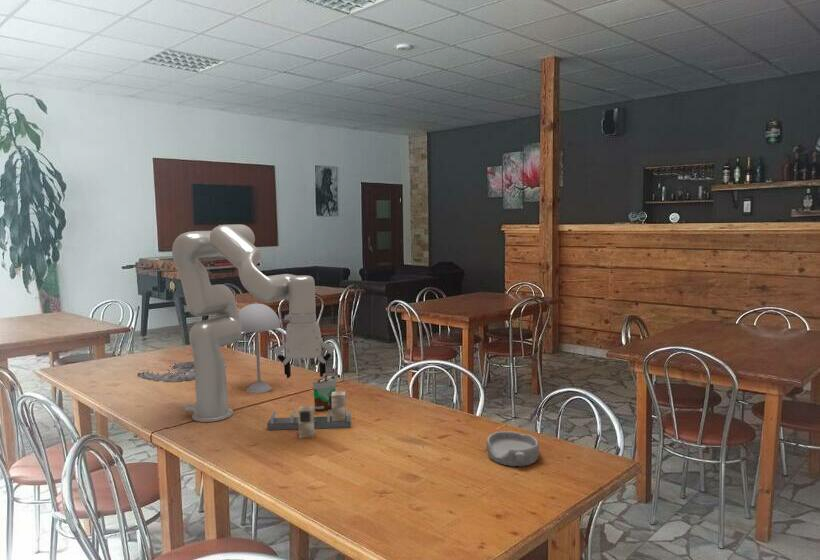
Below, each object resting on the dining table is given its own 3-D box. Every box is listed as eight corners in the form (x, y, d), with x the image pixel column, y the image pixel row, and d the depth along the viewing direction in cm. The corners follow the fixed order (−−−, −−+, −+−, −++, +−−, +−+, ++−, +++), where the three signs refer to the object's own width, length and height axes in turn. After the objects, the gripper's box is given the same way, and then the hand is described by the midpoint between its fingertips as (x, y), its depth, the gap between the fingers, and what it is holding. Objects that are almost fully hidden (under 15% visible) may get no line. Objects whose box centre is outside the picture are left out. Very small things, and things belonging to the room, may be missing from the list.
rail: (267, 430, 181) (266, 417, 180) (270, 424, 186) (270, 411, 185) (350, 427, 182) (349, 414, 181) (351, 421, 187) (350, 409, 186)
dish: (528, 473, 148) (528, 453, 148) (477, 461, 156) (477, 443, 155) (547, 453, 160) (547, 435, 160) (499, 443, 168) (499, 426, 167)
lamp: (243, 383, 232) (240, 299, 229) (287, 383, 232) (284, 298, 228) (229, 396, 215) (224, 305, 212) (276, 396, 215) (272, 305, 211)
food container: (331, 413, 195) (330, 383, 194) (313, 412, 196) (312, 382, 195) (342, 401, 207) (342, 373, 206) (326, 401, 208) (325, 373, 207)
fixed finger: (329, 421, 182) (328, 395, 181) (330, 416, 186) (329, 391, 185) (345, 420, 182) (344, 395, 181) (346, 416, 186) (345, 391, 185)
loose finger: (298, 438, 173) (297, 411, 172) (300, 432, 178) (300, 406, 177) (312, 438, 173) (311, 411, 173) (314, 432, 178) (313, 406, 177)
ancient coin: (164, 361, 272) (164, 360, 271) (237, 362, 267) (237, 362, 267) (119, 381, 239) (119, 380, 239) (201, 383, 234) (201, 382, 234)
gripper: (270, 321, 168) (273, 380, 170) (331, 319, 169) (334, 378, 171) (275, 317, 176) (277, 374, 178) (334, 315, 176) (336, 372, 178)
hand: (305, 376), depth 174 cm, fingers open, 9 cm apart
